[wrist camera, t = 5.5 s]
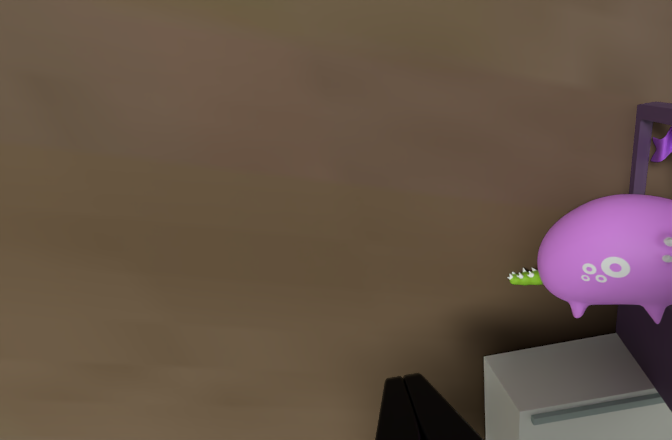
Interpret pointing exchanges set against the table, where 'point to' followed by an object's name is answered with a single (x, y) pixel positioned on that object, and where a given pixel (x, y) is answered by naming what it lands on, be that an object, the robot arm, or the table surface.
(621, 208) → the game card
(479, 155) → the table surface
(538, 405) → the slab
